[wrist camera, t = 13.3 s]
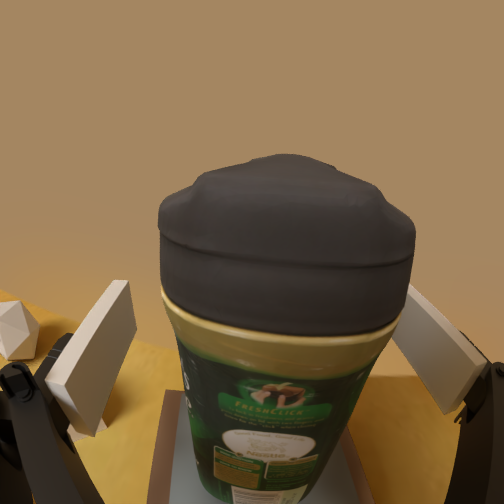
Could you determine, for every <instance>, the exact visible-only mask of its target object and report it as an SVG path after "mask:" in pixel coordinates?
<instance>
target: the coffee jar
mask: <svg viewBox="0 0 504 504" xmlns="http://www.w3.org/2000/svg"><path fill="white" fill-rule="evenodd" d="M158 228H159V230H160V276H161V295H162V299H163V303H164V306H165V309H166V313H167V315H168V317H169V319H170V322H171V324H172V326H173V329H174V332H175V336H176V340H177V345H178V350H179V356H180V361H181V368H182V375H183V383H184V389H185V396H186V403H187V409H188V415H189V421H190V427H191V434H192V441H193V448H194V455H195V460H196V466H197V470H198V474H199V478H200V481H201V483H202V485H203V487H204V488H205V490H206V491H207V492H208V493H210V494H211V495H212V496H213V497H215V498H217V499H219V500H221V501H223V502H226V503H229V504H297V503H299V502H300V501H302V500H303V499H304V498H305V497H306V496H307V495H308V494H309V493H310V491H311V490H312V489H313V487H314V485H315V484H316V482H317V481H318V479H319V477H320V476H321V474H322V472H323V470H324V468H325V466H326V464H327V463H328V461H329V458H330V456H331V455H332V453H333V451H334V449H335V447H336V445H337V443H338V441H339V439H340V437H341V435H342V433H343V431H344V429H345V427H346V425H347V423H348V421H349V418H350V416H351V414H352V412H353V410H354V407H355V405H356V403H357V400H358V398H359V396H360V393H361V391H362V389H363V387H364V384H365V382H366V380H367V378H368V376H369V374H370V372H371V370H372V368H373V366H374V364H375V362H376V360H377V358H378V357H379V355H380V353H381V352H382V351H383V349H384V348H385V346H386V345H387V343H388V341H389V340H390V338H391V337H392V335H393V333H394V331H395V329H396V327H397V325H398V322H399V320H400V318H401V313H402V310H403V308H404V306H405V302H406V296H407V292H408V287H409V282H410V275H411V269H412V263H413V257H414V250H415V238H416V230H415V226H414V223H413V222H412V220H411V219H410V218H409V217H408V216H407V215H406V214H404V213H403V212H401V211H400V210H399V209H397V208H396V207H394V206H393V205H391V204H390V203H388V202H387V201H386V199H385V198H384V196H383V194H382V193H381V191H380V190H379V189H378V188H377V187H376V186H374V185H372V184H370V183H368V182H366V181H363V180H360V179H358V178H355V177H353V176H350V175H348V174H345V173H343V172H340V171H338V170H336V168H335V167H334V166H332V165H329V164H326V163H323V162H320V161H318V160H315V159H312V158H310V157H306V156H301V155H295V154H276V155H272V156H267V157H262V158H257V159H252V160H251V161H249V162H247V163H244V164H238V165H234V166H229V167H225V168H221V169H217V170H213V171H209V172H205V173H203V174H202V175H200V176H199V177H198V178H197V180H196V181H195V182H194V184H193V185H192V186H189V187H187V188H185V189H183V190H181V191H178V192H176V193H173V194H172V195H170V196H168V197H166V198H165V199H164V200H163V202H162V203H161V205H160V207H159V213H158Z"/></svg>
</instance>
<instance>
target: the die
mask: <svg viewBox="0 0 504 504" xmlns="http://www.w3.org/2000/svg"><path fill="white" fill-rule="evenodd" d="M39 329H40V324H39V323H38V322H37V321H36V320H35V318H34V317H33V316H32V315H31V314H30V312H29V311H28V310H27V309H26V307H25V306H24V305H23V303H22V302H21V301H11V302H1V303H0V354H1V355H2V356H3V357H4V358H5V359H6V360H22V359H34V356H35V350H36V345H37V339H38V334H39Z"/></svg>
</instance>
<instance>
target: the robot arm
mask: <svg viewBox="0 0 504 504" xmlns="http://www.w3.org/2000/svg"><path fill="white" fill-rule="evenodd" d="M136 331H137V327H136V321H135V316H134V311H133V305H132V300H131V293H130V287H129V281H126V280H113V282H112V283H111V284H110V286H109V287H108V288H107V289H106V291H105V292H104V293H103V295H102V296H101V297H100V299H99V300H98V301H97V303H96V304H95V305H94V307H93V308H92V309H91V311H90V312H89V314H88V315H87V316H86V318H85V319H84V321H83V322H82V323H81V325H80V326H79V328H78V329H77V331H76V332H75V333H74V334H72V333H67V334H65V335H64V336H62V337H61V338H60V339H58V341H57V342H56V343H55V345H54V346H53V348H52V350H50V352H49V353H48V356H47V357H46V358H45V359H44V361H43V362H42V364H41V365H40V367H39V368H38V370H37V371H36V373H35V374H34V376H33V375H32V373H31V372H30V370H29V368H28V366H27V365H26V364H24V363H22V362H12V363H9V364H7V365H5V366H4V367H3V368H2V369H1V370H0V386H1V388H2V390H3V391H0V504H33V499H32V494H33V496H34V499H35V501H36V504H105V503H104V501H103V500H102V498H101V496H100V495H99V493H98V491H97V489H96V488H95V486H94V484H93V482H92V480H91V479H90V477H89V475H88V473H87V471H86V469H85V467H84V465H83V463H82V461H81V459H80V457H79V454H78V452H77V450H76V448H75V446H74V443H73V441H72V439H71V436H70V434H69V433H68V431H67V430H68V427H69V425H70V424H71V425H72V427H73V428H74V430H75V431H76V432H77V433H81V434H84V435H88V436H92V437H95V434H96V431H97V429H98V426H99V423H100V420H101V417H102V414H103V412H104V409H105V406H106V404H107V401H108V398H109V396H110V393H111V391H112V388H113V385H114V383H115V380H116V378H117V375H118V373H119V370H120V368H121V366H122V363H123V361H124V358H125V356H126V354H127V351H128V349H129V347H130V344H131V342H132V340H133V338H134V335H135V333H136ZM392 339H393V340H394V341H395V343H396V344H397V346H398V347H399V348H400V350H401V351H402V353H403V354H404V356H405V357H406V358H407V360H408V361H409V363H410V364H411V365H412V367H413V368H414V370H415V371H416V373H417V374H418V376H419V377H420V379H421V380H422V382H423V383H424V385H425V386H426V388H427V389H428V391H429V392H430V394H431V395H432V397H433V398H434V400H435V401H436V403H437V404H438V406H439V408H440V409H441V411H442V412H443V414H444V415H445V414H448V413H450V412H453V411H455V410H456V409H457V408H458V407H459V405H460V404H461V402H462V401H463V400H464V402H465V403H466V405H465V406H464V408H463V409H462V410H461V412H460V413H459V414H458V416H457V417H456V418H455V420H454V423H456V422H457V421H458V419H459V418H460V417H462V419H461V421H460V422H459V423H458V424H461V427H460V435H459V441H458V447H457V453H456V458H455V463H454V468H453V472H452V477H451V481H450V485H449V488H448V492H447V495H446V499H445V502H444V504H504V363H501V362H495V363H493V364H492V363H491V362H490V361H489V360H488V359H487V358H486V357H485V356H484V355H483V353H482V352H481V351H480V350H479V349H478V348H477V347H476V346H474V344H473V343H472V342H471V341H469V339H468V338H467V337H466V336H465V335H464V333H462V332H461V331H459V330H458V329H456V328H455V327H454V326H453V325H452V324H451V323H450V322H449V321H448V320H447V319H446V318H445V317H444V316H443V315H442V314H441V313H440V312H439V311H438V310H437V309H436V308H435V307H434V306H433V305H432V304H431V303H430V302H429V301H428V300H427V299H426V298H425V297H423V296H422V295H421V294H420V293H419V292H418V291H417V290H416V289H415V288H414V287H412V285H410V284H409V287H408V292H407V296H406V302H405V306H404V308H403V310H402V313H401V318H400V320H399V322H398V325H397V327H396V329H395V331H394V333H393V335H392ZM31 491H32V492H31Z"/></svg>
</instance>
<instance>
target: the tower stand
mask: <svg viewBox="0 0 504 504" xmlns="http://www.w3.org/2000/svg"><path fill="white" fill-rule="evenodd" d="M147 504H229V503H226V502H223V501H221V500H219V499H217V498H215V497H213V496H212V495H211V494H210V493H208V492H207V491H206V490H205V488H204V487H203V485H202V483H201V481H200V478H199V474H198V470H197V466H196V460H195V455H194V448H193V441H192V434H191V427H190V421H189V415H188V409H187V403H186V396H185V391H176V390H166V391H165V395H164V400H163V405H162V411H161V416H160V421H159V427H158V432H157V438H156V443H155V449H154V455H153V462H152V468H151V475H150V482H149V489H148V496H147ZM297 504H375V502H374V499H373V496H372V493H371V490H370V488H369V485H368V482H367V479H366V476H365V473H364V471H363V468H362V465H361V462H360V459H359V457H358V454H357V451H356V448H355V446H354V443H353V440H352V437H351V435H350V432H349V429H348V427H347V425H346V427H345V429H344V431H343V433H342V435H341V437H340V439H339V441H338V443H337V445H336V447H335V449H334V451H333V453H332V455H331V456H330V458H329V461H328V463H327V464H326V466H325V468H324V470H323V472H322V474H321V476H320V477H319V479H318V481H317V482H316V484H315V485H314V487H313V489H312V490H311V491H310V493H309V494H308V495H307V496H306V497H305V498H304V499H303V500H302V501H300V502H299V503H297Z"/></svg>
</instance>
